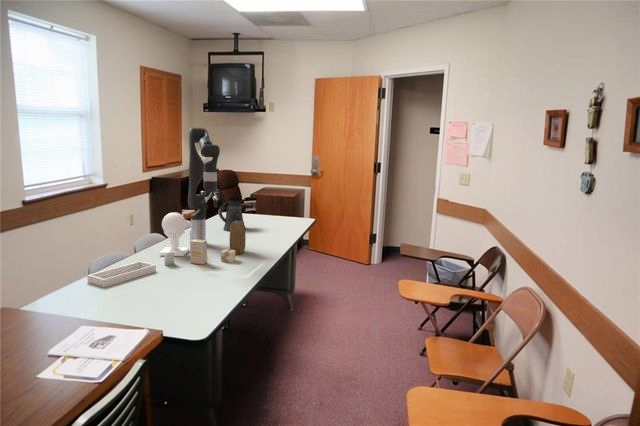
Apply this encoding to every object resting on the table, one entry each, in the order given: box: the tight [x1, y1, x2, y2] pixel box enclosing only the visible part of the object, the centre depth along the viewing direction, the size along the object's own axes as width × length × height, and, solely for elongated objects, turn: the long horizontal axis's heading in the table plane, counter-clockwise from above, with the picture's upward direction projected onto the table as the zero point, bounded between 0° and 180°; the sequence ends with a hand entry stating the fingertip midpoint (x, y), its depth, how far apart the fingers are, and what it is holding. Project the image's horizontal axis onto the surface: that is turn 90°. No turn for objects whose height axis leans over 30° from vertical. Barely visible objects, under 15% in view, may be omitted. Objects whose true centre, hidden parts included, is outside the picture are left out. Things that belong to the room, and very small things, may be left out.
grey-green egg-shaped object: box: [163, 251, 175, 267], centre depth 226 cm, size 5×5×7 cm
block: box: [229, 220, 247, 255], centre depth 255 cm, size 11×8×20 cm
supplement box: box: [189, 239, 208, 266], centre depth 230 cm, size 8×5×13 cm, turn 71°
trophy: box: [158, 212, 190, 257], centre depth 248 cm, size 14×14×25 cm
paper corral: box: [86, 260, 157, 288], centre depth 204 cm, size 12×29×4 cm, turn 152°
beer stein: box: [217, 198, 246, 233], centre depth 311 cm, size 16×19×25 cm
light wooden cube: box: [220, 248, 236, 264], centre depth 238 cm, size 6×6×6 cm
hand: (210, 207), depth 238 cm, fingers open, 8 cm apart
